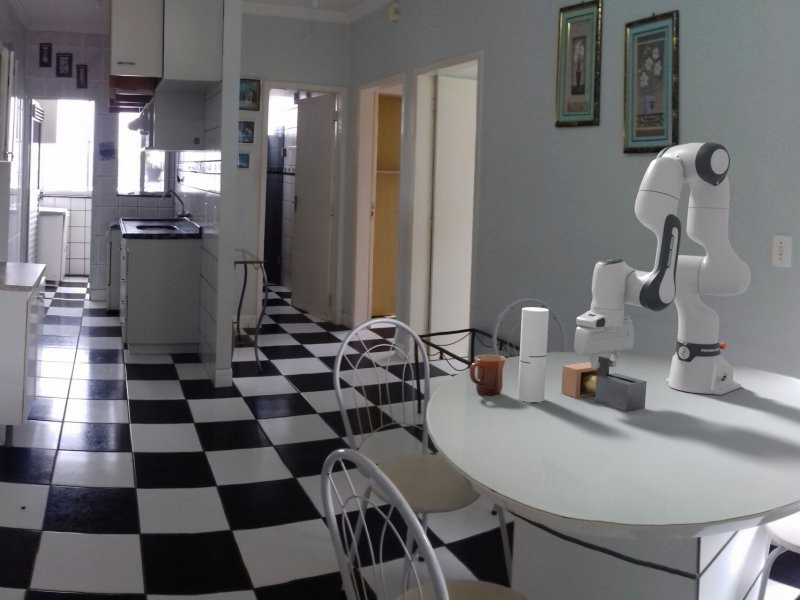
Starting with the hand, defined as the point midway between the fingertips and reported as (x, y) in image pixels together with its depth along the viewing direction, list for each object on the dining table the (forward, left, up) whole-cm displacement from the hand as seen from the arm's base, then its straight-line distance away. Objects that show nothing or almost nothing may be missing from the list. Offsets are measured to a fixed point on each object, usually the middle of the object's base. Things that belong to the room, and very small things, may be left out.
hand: (603, 367), depth 220 cm
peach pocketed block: (0, -8, -9) cm, 12 cm away
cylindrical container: (+17, -10, -9) cm, 22 cm away
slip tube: (0, -3, -8) cm, 8 cm away
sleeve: (0, +6, -9) cm, 11 cm away
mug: (+25, -20, -9) cm, 33 cm away
